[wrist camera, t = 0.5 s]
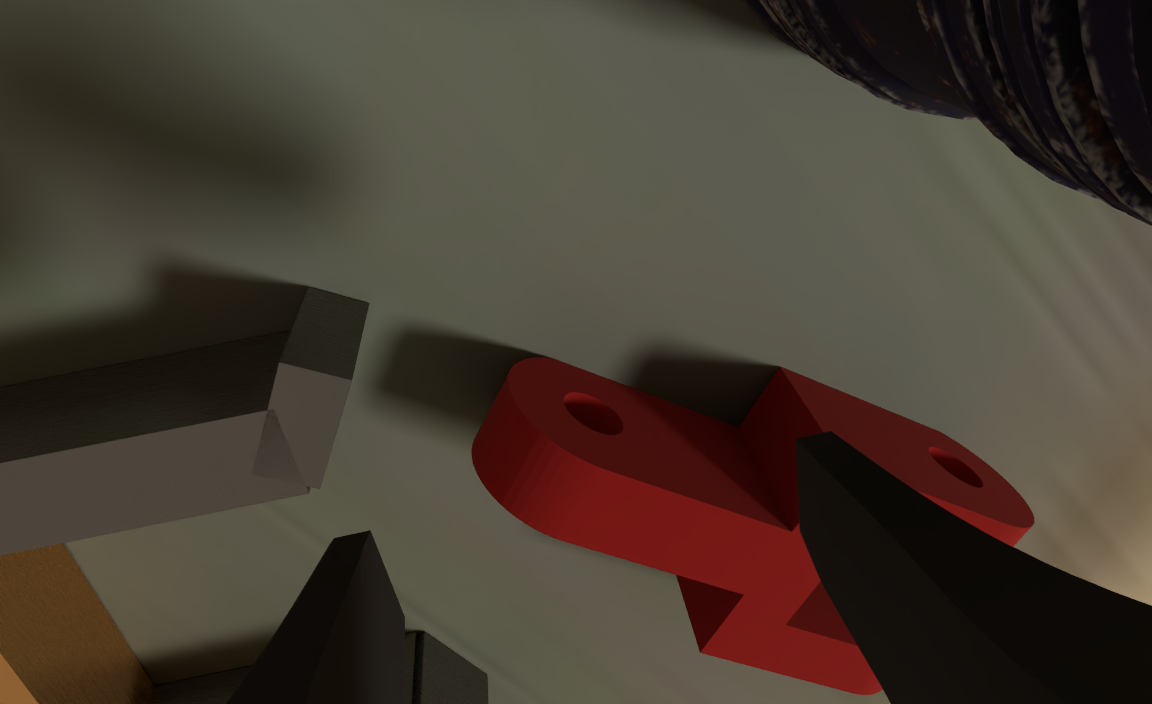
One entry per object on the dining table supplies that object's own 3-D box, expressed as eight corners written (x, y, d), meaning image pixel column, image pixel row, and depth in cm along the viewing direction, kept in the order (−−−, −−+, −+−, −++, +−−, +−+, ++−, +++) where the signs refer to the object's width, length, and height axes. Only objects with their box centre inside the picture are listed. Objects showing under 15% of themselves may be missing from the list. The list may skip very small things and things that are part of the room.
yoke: (492, 689, 30) (496, 793, 26) (140, 762, 30) (97, 878, 26) (360, 276, 22) (341, 350, 18) (-133, 372, 21) (-248, 466, 18)
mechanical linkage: (972, 443, 27) (1068, 547, 23) (849, 591, 30) (913, 709, 26) (539, 265, 22) (558, 356, 18) (440, 463, 25) (435, 582, 21)
